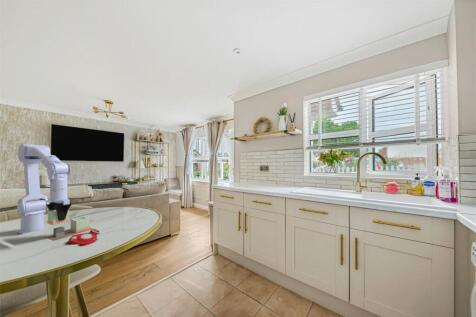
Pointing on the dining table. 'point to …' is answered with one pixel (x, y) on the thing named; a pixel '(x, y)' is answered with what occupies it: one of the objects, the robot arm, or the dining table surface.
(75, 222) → the seated sleeve
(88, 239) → the tracker holder
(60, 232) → the pin board
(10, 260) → the dining table surface
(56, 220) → the sleeve
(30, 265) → the dining table surface
